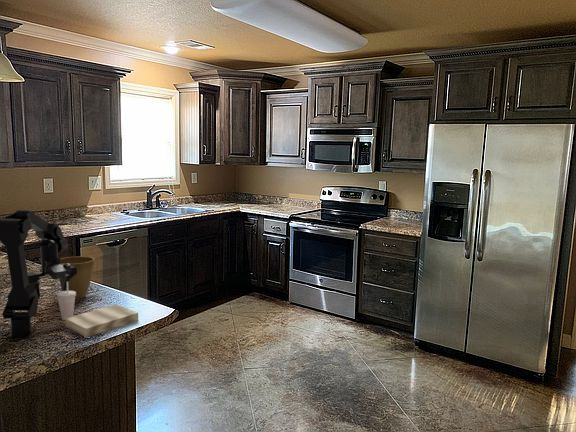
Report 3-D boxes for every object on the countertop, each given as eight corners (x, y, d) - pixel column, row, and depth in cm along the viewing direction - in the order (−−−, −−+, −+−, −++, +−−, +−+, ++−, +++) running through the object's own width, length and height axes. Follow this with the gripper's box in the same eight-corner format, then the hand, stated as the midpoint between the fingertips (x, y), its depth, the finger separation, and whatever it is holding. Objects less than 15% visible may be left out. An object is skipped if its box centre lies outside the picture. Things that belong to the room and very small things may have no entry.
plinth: (86, 337, 148) (86, 328, 148) (65, 326, 156) (65, 318, 156) (138, 320, 164) (138, 312, 163) (116, 311, 172) (116, 304, 172)
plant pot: (102, 295, 191) (101, 259, 188) (68, 304, 178) (67, 265, 176) (82, 288, 199) (81, 254, 197) (49, 297, 187) (47, 260, 184)
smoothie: (69, 322, 160) (67, 284, 158) (53, 320, 161) (52, 283, 160) (80, 316, 166) (79, 280, 164) (65, 314, 168) (64, 278, 166)
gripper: (33, 264, 156) (35, 306, 158) (84, 255, 171) (85, 294, 173) (19, 259, 162) (21, 300, 164) (69, 251, 177) (71, 288, 179)
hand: (51, 295), depth 170 cm, fingers open, 9 cm apart
